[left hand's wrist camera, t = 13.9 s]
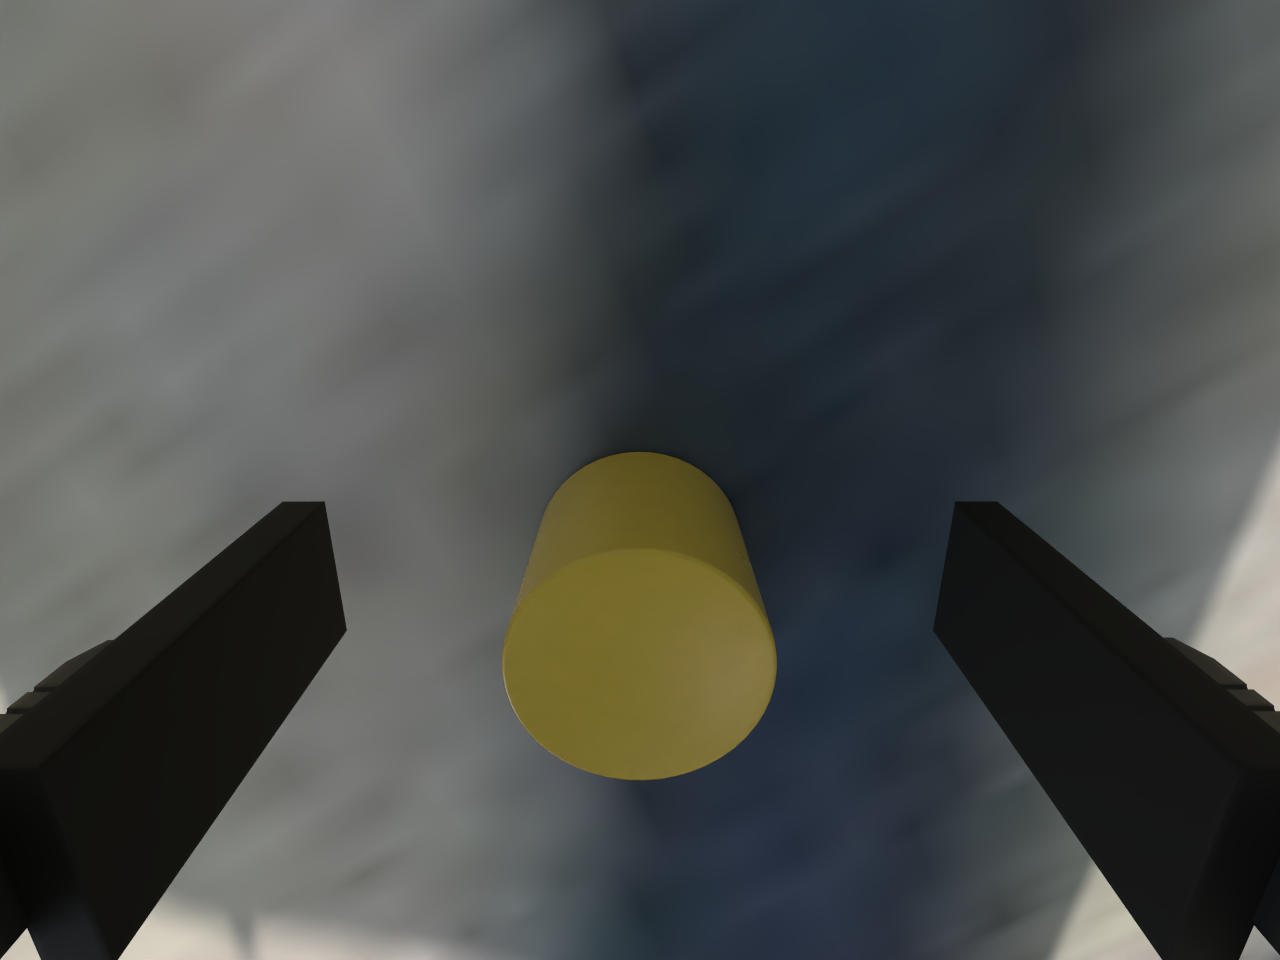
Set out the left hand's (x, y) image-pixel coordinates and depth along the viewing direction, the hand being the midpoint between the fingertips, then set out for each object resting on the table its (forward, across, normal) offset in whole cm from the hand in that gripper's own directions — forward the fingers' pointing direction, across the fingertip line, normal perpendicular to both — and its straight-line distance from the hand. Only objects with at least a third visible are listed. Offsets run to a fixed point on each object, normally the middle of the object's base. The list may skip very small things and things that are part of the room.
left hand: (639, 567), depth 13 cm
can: (+1, 0, 0) cm, 1 cm away
